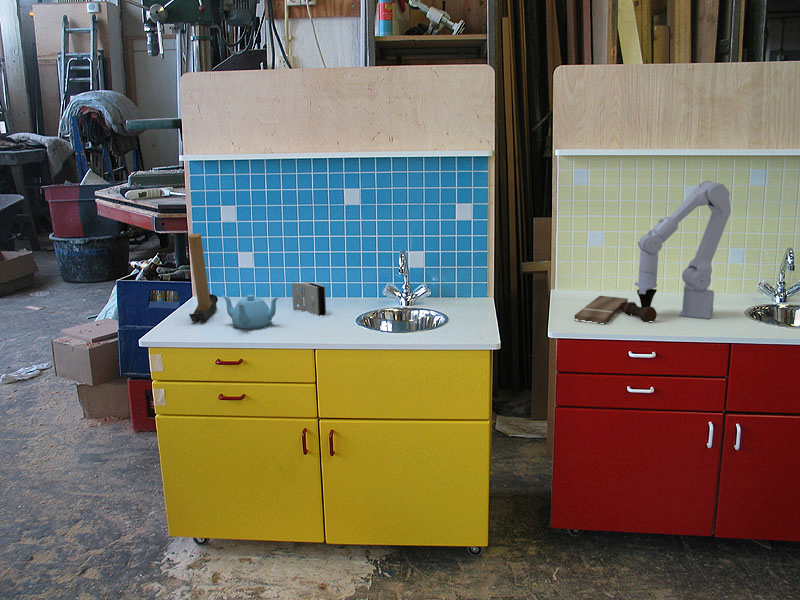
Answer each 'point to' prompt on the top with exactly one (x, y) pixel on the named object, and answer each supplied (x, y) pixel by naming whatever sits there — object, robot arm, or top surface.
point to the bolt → (639, 311)
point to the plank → (601, 309)
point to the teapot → (251, 312)
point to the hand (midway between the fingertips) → (645, 310)
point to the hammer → (201, 281)
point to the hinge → (309, 297)
